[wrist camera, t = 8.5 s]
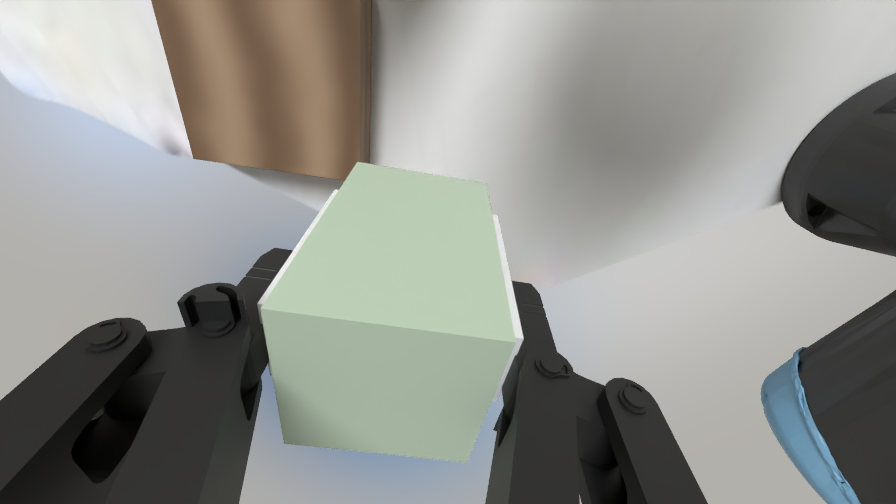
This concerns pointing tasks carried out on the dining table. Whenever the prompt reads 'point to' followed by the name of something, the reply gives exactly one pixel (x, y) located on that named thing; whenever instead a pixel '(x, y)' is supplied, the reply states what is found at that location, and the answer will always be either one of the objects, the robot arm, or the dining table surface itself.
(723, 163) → the dining table surface
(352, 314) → the sage block
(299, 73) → the walnut plinth
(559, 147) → the dining table surface
